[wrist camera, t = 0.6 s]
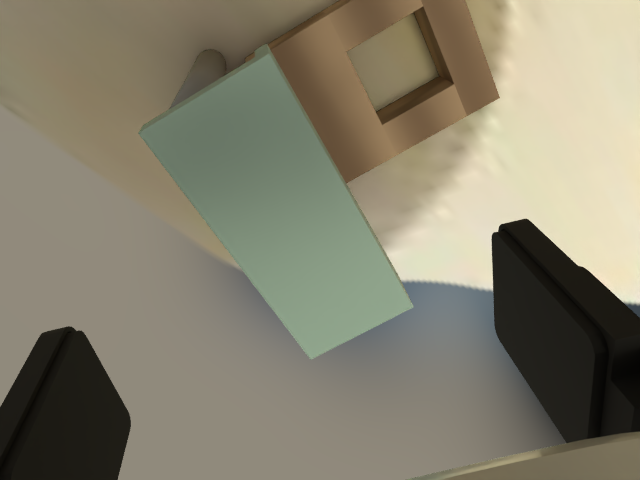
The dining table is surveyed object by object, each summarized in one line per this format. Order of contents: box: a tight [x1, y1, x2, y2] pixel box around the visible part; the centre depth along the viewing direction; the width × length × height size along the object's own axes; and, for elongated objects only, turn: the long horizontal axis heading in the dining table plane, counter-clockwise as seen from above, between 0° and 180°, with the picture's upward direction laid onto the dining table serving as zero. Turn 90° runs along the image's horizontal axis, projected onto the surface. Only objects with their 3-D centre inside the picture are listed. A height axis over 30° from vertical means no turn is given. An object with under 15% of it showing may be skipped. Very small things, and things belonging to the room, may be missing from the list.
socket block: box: [245, 0, 500, 183], centre depth 35 cm, size 14×10×3 cm
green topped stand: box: [139, 43, 413, 359], centre depth 30 cm, size 6×14×17 cm, turn 29°
